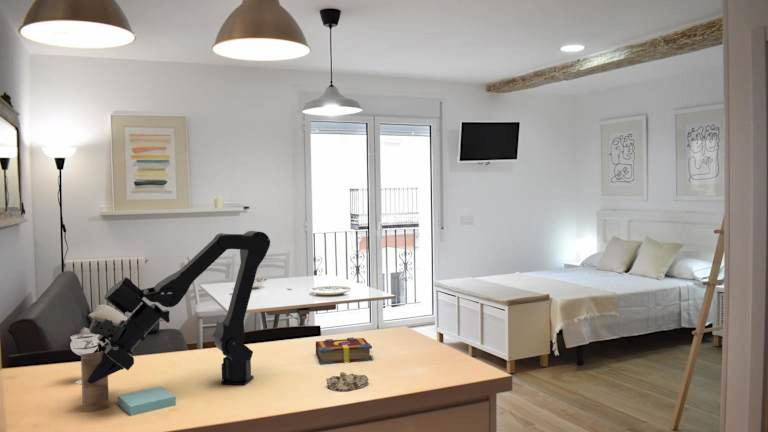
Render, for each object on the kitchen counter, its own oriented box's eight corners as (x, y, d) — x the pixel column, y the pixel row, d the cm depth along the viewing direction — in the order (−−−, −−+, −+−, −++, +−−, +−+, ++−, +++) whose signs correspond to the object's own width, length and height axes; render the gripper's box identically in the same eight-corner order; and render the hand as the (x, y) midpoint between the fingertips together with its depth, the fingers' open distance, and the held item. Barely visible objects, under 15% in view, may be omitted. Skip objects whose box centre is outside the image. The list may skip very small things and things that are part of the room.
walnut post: (106, 401, 142) (104, 351, 142) (108, 407, 138) (107, 355, 137) (82, 405, 140) (80, 354, 139) (84, 412, 135) (82, 359, 135)
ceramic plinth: (161, 396, 147) (160, 386, 147) (176, 407, 139) (175, 396, 139) (117, 406, 141) (117, 395, 140) (130, 417, 133) (130, 406, 133)
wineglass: (71, 379, 159) (69, 334, 159) (99, 375, 163) (97, 331, 162) (72, 386, 154) (70, 340, 153) (101, 382, 157) (99, 336, 156)
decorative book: (315, 355, 181) (314, 339, 181) (367, 351, 185) (367, 335, 184) (320, 366, 170) (320, 348, 170) (376, 361, 174) (375, 344, 173)
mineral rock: (329, 385, 145) (325, 367, 152) (328, 401, 146) (324, 382, 154) (372, 383, 147) (366, 365, 155) (371, 398, 149) (365, 380, 156)
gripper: (106, 298, 148) (56, 349, 143) (116, 310, 132) (61, 368, 127) (141, 326, 152) (94, 376, 147) (155, 341, 136) (103, 398, 131)
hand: (88, 379), depth 138 cm, fingers closed on walnut post, 5 cm apart
